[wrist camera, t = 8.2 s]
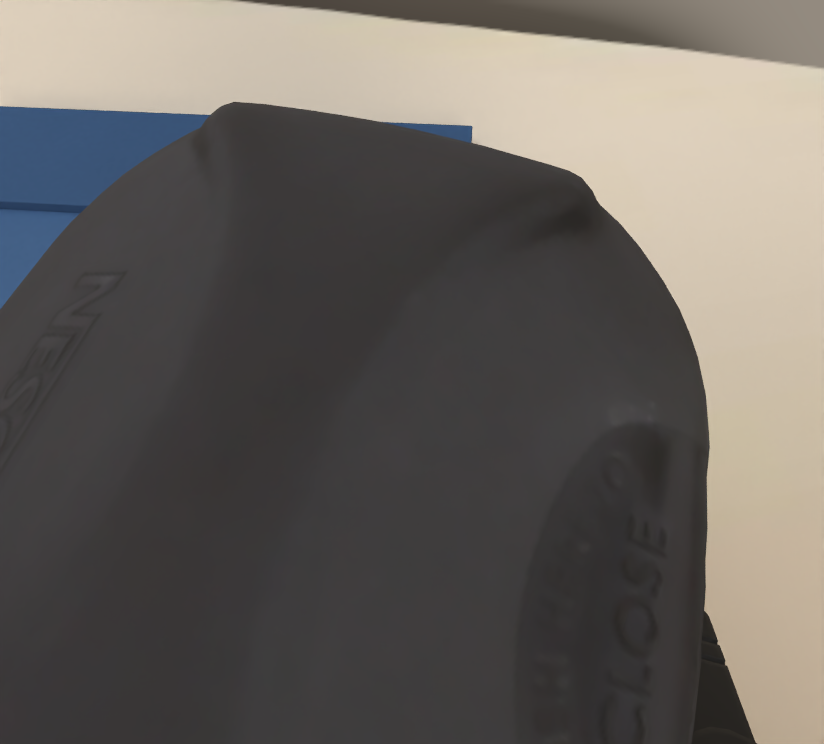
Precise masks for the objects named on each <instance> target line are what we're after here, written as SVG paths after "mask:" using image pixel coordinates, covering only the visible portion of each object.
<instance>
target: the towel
mask: <svg viewBox="0 0 824 744" xmlns="http://www.w3.org/2000/svg"><path fill="white" fill-rule="evenodd" d="M209 116H210V115H195V114H171V113H147V112H123V111H99V110H75V109H51V108H27V107H3V106H0V309H1V308H2V307H3V305H4V304H5V303H6V301H7V300H8V299H9V298H10V296H11V295H12V294H13V292H14V291H15V290H16V288H17V287H18V286H19V285H20V283H21V282H22V281H23V280H24V278H25V277H26V276H27V275H28V273H29V272H30V271H31V270H32V268H33V267H34V266H35V265H36V263H37V262H38V261H39V259H40V258H41V257H42V256H43V254H44V253H45V252H46V251H47V249H48V248H49V247H50V246H51V244H52V243H53V242H54V241H55V240H56V238H57V237H58V236H59V235H60V234H61V233H62V232H63V230H64V229H65V228H66V227H67V226H68V225H69V224H70V222H71V221H72V220H74V219H75V218H76V217H77V216H78V215H79V214H80V213H81V212H82V211H83V210H84V209H85V208H86V207H87V206H88V205H90V204H91V203H92V202H93V201H94V200H95V199H96V198H97V197H98V196H99V195H100V194H101V193H102V192H103V191H105V190H106V189H107V188H108V187H109V186H110V185H112V184H113V183H114V182H115V181H116V180H118V179H119V178H120V177H121V176H122V175H123V174H125V173H126V172H128V171H129V170H130V169H132V168H133V167H135V166H136V165H138V164H139V163H141V162H142V161H143V160H145V159H146V158H148V157H149V156H151V155H152V154H154V153H155V152H157V151H159V150H160V149H162V148H164V147H166V146H167V145H169V144H171V143H172V142H174V141H176V140H178V139H179V138H181V137H183V136H185V135H187V134H188V133H190V132H192V131H194V130H197V129H199V128H201V126H202V125H203V123H204V122H205V120H206V119H207V118H208V117H209ZM382 123H387V124H392V125H396V126H401V127H406V128H410V129H415V130H420V131H424V132H428V133H432V134H436V135H440V136H444V137H449V138H453V139H457V140H461V141H465V142H469V143H471V141H472V126H460V125H436V124H412V123H388V122H382Z"/></svg>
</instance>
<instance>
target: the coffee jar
mask: <svg viewBox="0 0 824 744" xmlns="http://www.w3.org/2000/svg"><path fill="white" fill-rule="evenodd" d="M709 448H710V447H709V430H708V417H707V405H706V395H705V390H704V385H703V380H702V375H701V370H700V366H699V361H698V356H697V354H696V351H695V348H694V345H693V342H692V339H691V336H690V333H689V331H688V329H687V326H686V324H685V321H684V319H683V317H682V314H681V312H680V310H679V308H678V306H677V304H676V302H675V301H674V299H673V297H672V295H671V294H670V292H669V290H668V289H667V287H666V285H665V283H664V282H663V280H662V278H661V277H660V276H659V274H658V273H657V271H656V270H655V268H654V267H653V265H652V264H651V262H650V261H649V260H648V258H647V257H646V255H645V254H644V252H643V251H642V250H641V248H640V247H639V246H638V244H637V243H636V242H635V241H634V240H633V238H632V237H631V236H630V235H629V234H628V233H627V231H626V230H625V229H624V228H623V227H622V225H621V224H620V223H619V222H618V221H617V220H615V219H614V218H613V217H612V216H611V215H610V214H609V213H608V212H607V211H606V210H605V209H604V208H603V207H602V206H600V204H599V203H598V201H597V200H596V198H595V196H594V193H593V191H592V190H591V189H590V187H589V186H588V185H587V184H586V183H585V181H584V180H583V179H582V178H581V177H579V176H577V175H576V174H574V173H572V172H570V171H568V170H565V169H561V168H558V167H555V166H552V165H549V164H545V163H542V162H538V161H535V160H531V159H527V158H524V157H520V156H517V155H513V154H510V153H506V152H503V151H499V150H496V149H492V148H489V147H485V146H481V145H477V144H473V143H469V142H465V141H461V140H457V139H453V138H449V137H444V136H440V135H436V134H432V133H428V132H424V131H420V130H415V129H410V128H406V127H401V126H396V125H392V124H387V123H382V122H377V121H372V120H366V119H360V118H354V117H348V116H342V115H337V114H330V113H324V112H317V111H311V110H303V109H296V108H288V107H281V106H273V105H266V104H254V103H241V102H233V103H230V104H227V105H224V106H221V107H220V108H218V109H217V110H216V111H215V112H214V113H212V114H211V115H210V116H209V117H208V118H207V119H206V120H205V122H204V123H203V125H202V126H201V128H199V129H197V130H194V131H192V132H190V133H188V134H187V135H185V136H183V137H181V138H179V139H178V140H176V141H174V142H172V143H171V144H169V145H167V146H166V147H164V148H162V149H160V150H159V151H157V152H155V153H154V154H152V155H151V156H149V157H148V158H146V159H145V160H143V161H142V162H141V163H139V164H138V165H136V166H135V167H133V168H132V169H130V170H129V171H128V172H126V173H125V174H123V175H122V176H121V177H120V178H119V179H118V180H116V181H115V182H114V183H113V184H112V185H110V186H109V187H108V188H107V189H106V190H105V191H103V192H102V193H101V194H100V195H99V196H98V197H97V198H96V199H95V200H94V201H93V202H92V203H91V204H90V205H88V206H87V207H86V208H85V209H84V210H83V211H82V212H81V213H80V214H79V215H78V216H77V217H76V218H75V219H74V220H72V221H71V222H70V224H69V225H68V226H67V227H66V228H65V229H64V230H63V232H62V233H61V234H60V235H59V236H58V237H57V238H56V240H55V241H54V242H53V243H52V244H51V246H50V247H49V248H48V249H47V251H46V252H45V253H44V254H43V256H42V257H41V258H40V259H39V261H38V262H37V263H36V265H35V266H34V267H33V268H32V270H31V271H30V272H29V273H28V275H27V276H26V277H25V278H24V280H23V281H22V282H21V283H20V285H19V286H18V287H17V288H16V290H15V291H14V292H13V294H12V295H11V296H10V298H9V299H8V300H7V301H6V303H5V304H4V305H3V307H2V308H1V309H0V744H691V743H692V737H693V730H694V722H695V713H696V704H697V695H698V686H699V677H700V668H701V642H702V632H703V619H704V603H705V588H706V584H705V557H706V541H707V479H706V477H707V468H708V458H709Z"/></svg>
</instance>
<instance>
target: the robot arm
mask: <svg viewBox="0 0 824 744" xmlns="http://www.w3.org/2000/svg"><path fill="white" fill-rule="evenodd" d="M717 642H718V640H717V637H716V634H715V632H714V629H713V626H712V624H711V621H710V618H709V616H708V615H707V614H706V612H705V611H704V619H703V632H702V642H701V668H700V677H699V686H698V695H697V704H696V713H695V722H694V730H693V737H692V743H691V744H757V743H755V740H754V738H753V735H752V732H751V729H750V727H749V724H748V721H747V719H746V716H745V713H744V710H743V708H742V705H741V702H740V700H739V697H738V694H737V691H736V689H735V686H734V683H733V681H732V678H731V675H730V672H729V670H728V667H727V666H725V659H724V656H723V653H722V651H721V648H720V645H717Z"/></svg>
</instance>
